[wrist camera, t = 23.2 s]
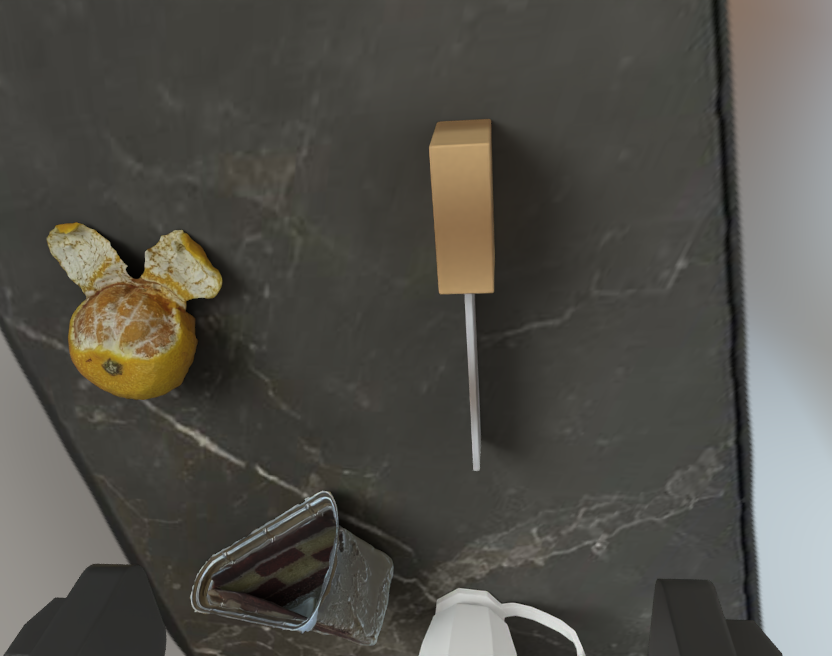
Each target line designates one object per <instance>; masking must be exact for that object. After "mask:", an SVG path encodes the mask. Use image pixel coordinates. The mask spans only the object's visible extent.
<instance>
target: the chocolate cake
mask: <svg viewBox="0 0 832 656" xmlns="http://www.w3.org/2000/svg"><path fill="white" fill-rule="evenodd" d="M333 498H334V497H333V496H332V494H331V492H329V493H328V492H327V491H326V492H325V491H320V492H319V493H317V494H316V495H313V496H312V497H310V498H309V497H307V498H305V500H306V501H305V502H304V503H302V504H301V505H298V504H297V505H295V506H294V507H292V508H291V509H289V510H288V511H286V512H284V513H283V514H282V515H280V516H279V517H276V519H274V520H271V521H270V522H267V523H266V524H265V525H264V526H261V527H260V528H259V529H258V528H256V529H255V530H254V531H253V532H252V533H251V534H250V535H248V536H247V537H244V538H243V539H241V540H240V541H237V542H235V543H234V544H233V545H232V546H230V547H227V548H226V549H223V550H221V551H220V552H219V553H216V554H213V556H211V559H209V561H206V563H205V565H204V566H202V568H201V570H200V572H199V573H198V574H197V577H196V580H195V584H194V585H193V586H192V587H193V591H192V593H191V596H190V599H191V604H192V605H191V606H192V608H194V610H195V612H200V613H204V614H209V613H212V614H217V615H220V616H222V617H228V618H235V619H239V620H243V621H247V622H253V623H255V624H256V623H257V624H260V625H263V626H264V625H265V626H267V627H272V628H274V627H277V628H283V630H284V629H288V630H291V631H292V630H293V631H298V632H301V633H302V634H303V632H304V631H307V632H308V631H311V630H312V631H315V632H317V633H320V634H323V635H328V634H330V635H336V636H339V637H342V638H344V639H347V640H349V641H351V642H353V643H357V644H360V645H374V644H375V643H376V642H377V637H378V635H379V632H380V629H381V627H382V624H383V619H384V615H385V612H386V609H387V605H388V599H389V588H390V583H391V579H392V576H393V561H392V559H391V558H390V557H389V556H388V555H386V554H385V553H384V552H382V551H380V550H377V549H375V548H374V547H373V546H372V545H370V544H369V543H367V542H365V541H363V540H362V539H360V538H358V537H356V536H355V535H353V534H352V533H351V532H349V531H348V530H346V529H345V528H343V527H341V526H339V523H338V514H337V506H336V503H335V500H334V499H333Z"/></svg>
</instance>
